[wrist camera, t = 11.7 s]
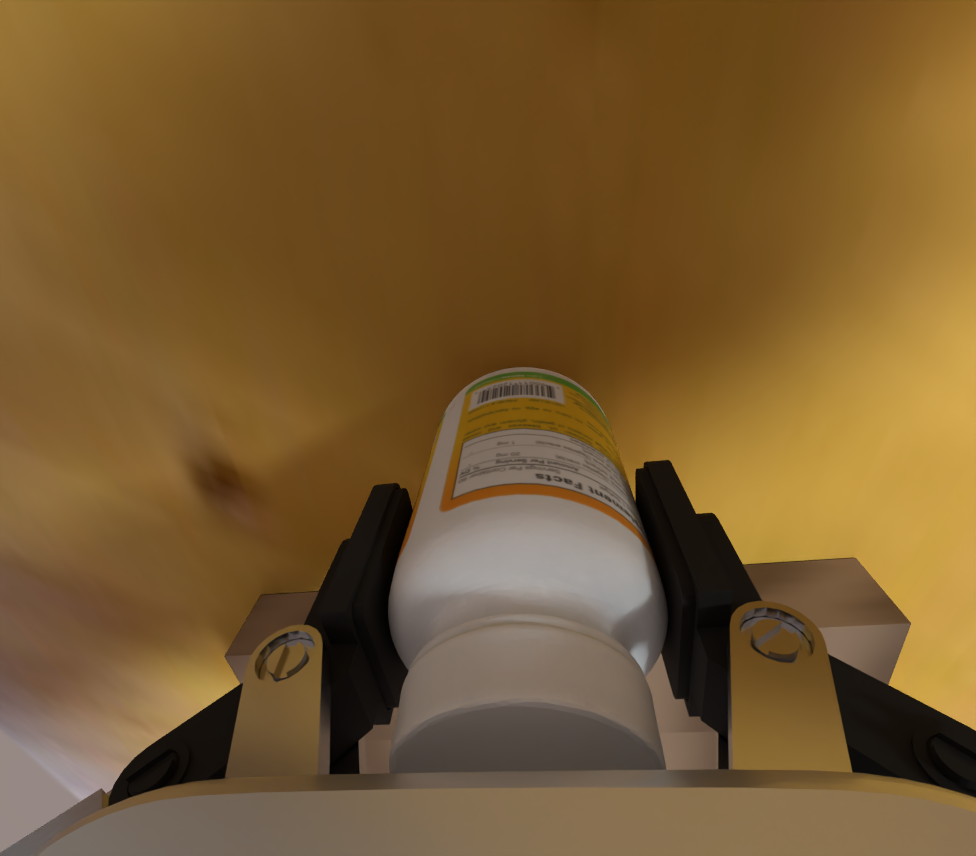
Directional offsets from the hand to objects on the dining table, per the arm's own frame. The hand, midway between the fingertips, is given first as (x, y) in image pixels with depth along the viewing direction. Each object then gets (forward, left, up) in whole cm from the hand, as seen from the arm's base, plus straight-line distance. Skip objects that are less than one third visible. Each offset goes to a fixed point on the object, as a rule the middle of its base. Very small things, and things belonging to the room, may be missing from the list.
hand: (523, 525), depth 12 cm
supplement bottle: (0, 0, -4) cm, 4 cm away
